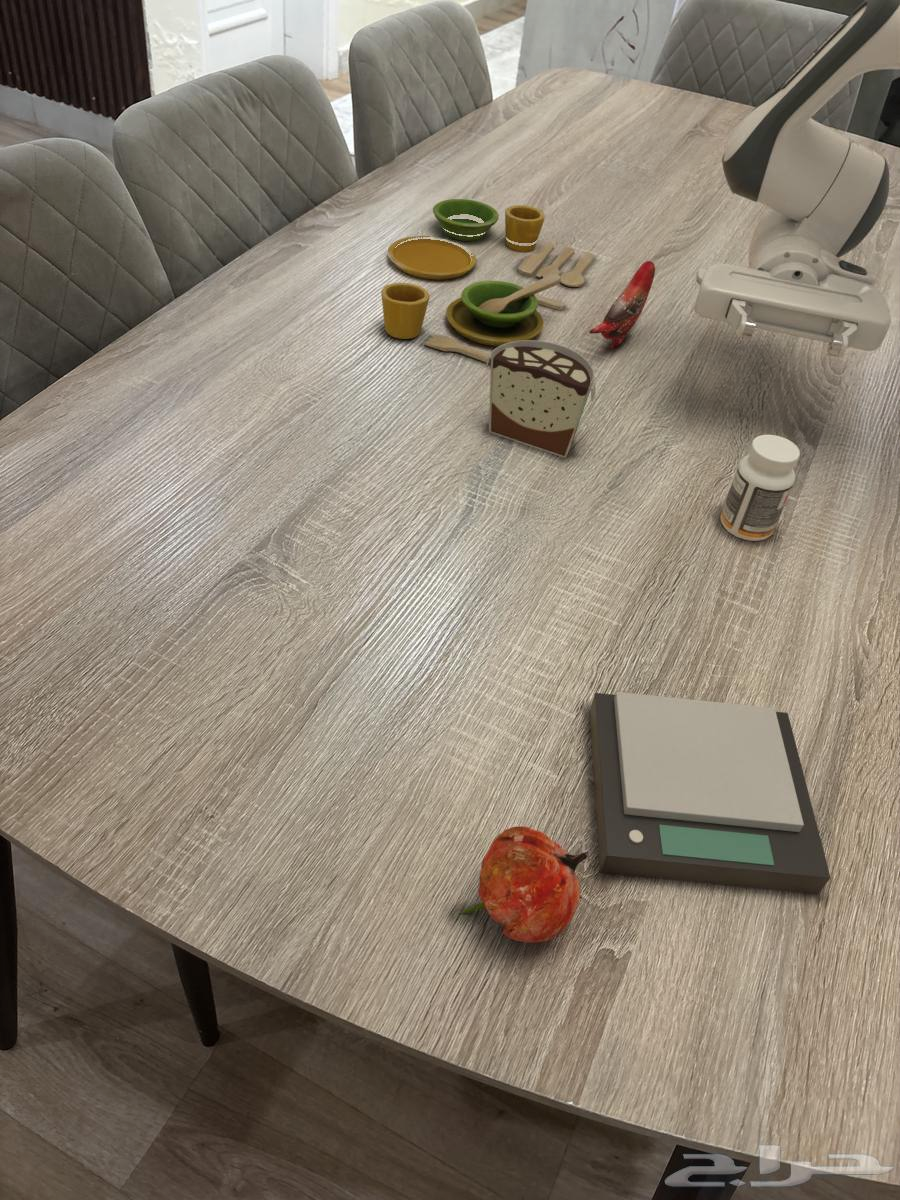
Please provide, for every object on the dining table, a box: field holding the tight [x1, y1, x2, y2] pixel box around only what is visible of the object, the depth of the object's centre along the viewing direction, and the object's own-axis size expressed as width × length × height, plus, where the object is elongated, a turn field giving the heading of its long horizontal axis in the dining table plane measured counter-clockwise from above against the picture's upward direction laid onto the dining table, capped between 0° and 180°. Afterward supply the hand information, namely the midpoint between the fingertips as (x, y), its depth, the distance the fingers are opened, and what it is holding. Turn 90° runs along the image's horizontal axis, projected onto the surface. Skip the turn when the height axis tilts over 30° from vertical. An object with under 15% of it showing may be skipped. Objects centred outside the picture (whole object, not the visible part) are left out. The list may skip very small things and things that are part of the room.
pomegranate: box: [459, 826, 591, 944], centre depth 63 cm, size 7×7×10 cm
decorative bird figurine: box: [588, 260, 656, 351], centre depth 119 cm, size 3×18×10 cm, turn 147°
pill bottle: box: [720, 434, 801, 542], centre depth 95 cm, size 6×6×10 cm
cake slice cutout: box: [484, 339, 596, 459], centre depth 104 cm, size 12×6×10 cm, turn 65°
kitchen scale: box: [588, 691, 831, 895], centre depth 72 cm, size 16×15×4 cm
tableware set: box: [380, 198, 595, 363], centre depth 130 cm, size 41×28×6 cm
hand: (791, 340), depth 97 cm, fingers open, 8 cm apart
